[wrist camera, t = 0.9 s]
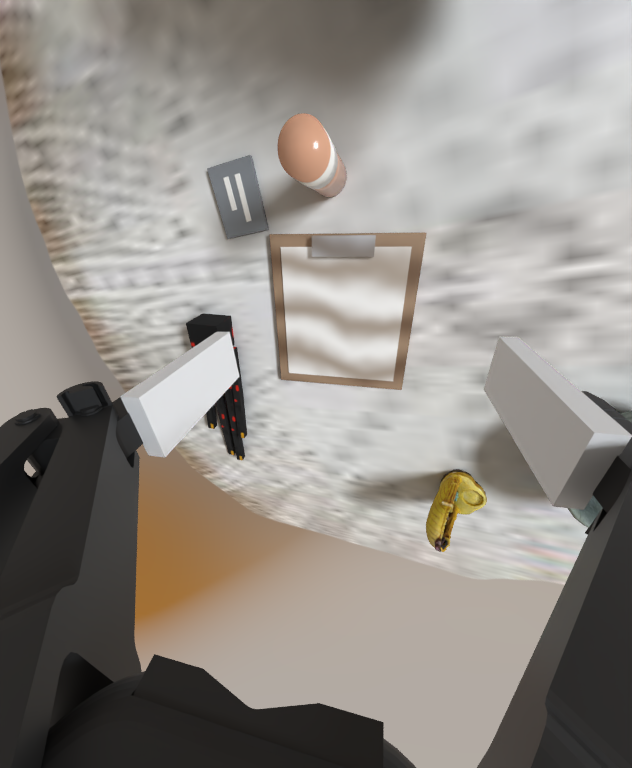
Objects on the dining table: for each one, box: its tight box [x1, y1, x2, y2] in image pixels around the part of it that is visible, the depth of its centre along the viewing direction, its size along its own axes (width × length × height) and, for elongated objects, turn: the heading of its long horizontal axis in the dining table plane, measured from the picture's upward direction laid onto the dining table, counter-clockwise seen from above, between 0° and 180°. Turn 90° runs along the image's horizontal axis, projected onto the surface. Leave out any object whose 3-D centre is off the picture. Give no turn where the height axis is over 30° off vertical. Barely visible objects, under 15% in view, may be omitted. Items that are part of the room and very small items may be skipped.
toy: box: [186, 314, 247, 460], centre depth 52 cm, size 8×5×30 cm
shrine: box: [426, 470, 487, 552], centre depth 46 cm, size 12×8×15 cm
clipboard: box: [269, 233, 426, 390], centre depth 41 cm, size 22×20×2 cm
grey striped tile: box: [207, 155, 269, 239], centre depth 36 cm, size 8×6×1 cm
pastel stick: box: [278, 114, 347, 197], centre depth 28 cm, size 4×4×14 cm
